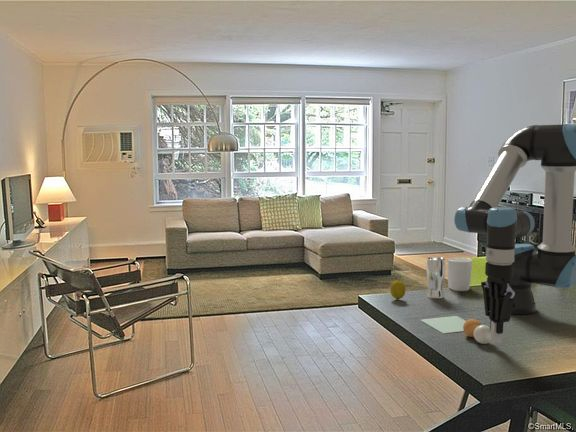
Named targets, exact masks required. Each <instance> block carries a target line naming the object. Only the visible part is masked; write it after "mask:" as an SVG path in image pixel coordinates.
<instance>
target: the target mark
mask: <svg viewBox="0 0 576 432" xmlns="http://www.w3.org/2000/svg"><path fill="white" fill-rule="evenodd" d="M419 321H421V322H422V323H424V324H426V325H427V326H429V327H431V328H433V329H434V330H436V331H438V332H439V333H441V334H444V335H445V334H451V333H452V334H453V333H461V332H464V330H463V325H464V323H465V322H466V321H467V320H465V319H463V318H462V317H460V316H457V315H452V316H444V317H443V316H442V317H433V318H423V319H419Z"/></svg>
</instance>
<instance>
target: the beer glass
mask: <svg viewBox="0 0 576 432" xmlns="http://www.w3.org/2000/svg"><path fill="white" fill-rule="evenodd" d="M445 277H446V258H445V257H442V256H441V257H439V256H430V257H427V259H426V278H427V286H428V287H427V293H426V298H429V299H434V300H436V299H437V300H438V299H439V300H441V299H443V298H444V293H443V285H444V281H445Z"/></svg>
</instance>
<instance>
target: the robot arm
mask: <svg viewBox="0 0 576 432" xmlns="http://www.w3.org/2000/svg"><path fill="white" fill-rule="evenodd" d="M497 156H498V157H497V160H496V161H495V163H494V164H493V166H492V168H491V170H490V171H489V173H488V174H487V176H486V178H485V179H484V181H483V183H482V185H481V186H480V188H479V189H478V192H477V193H476V195H475V196H474V197H473V199H472V201H471V203H470V204H469V206H464V207H463V206H462V207H460V208H459V207H458V209H457V210H456V211H455V214H454V217H453V219H454V225H455V228H456V229H457V230H458V231H461V232H464V233H465V232H466V233H474V234H481V235H482V234H483V235H484V234H485V235H486V252H485V260H486V262H485V265H484V267H485V268H484V269H485V270H484V273H485V274H484V275H486V277H487V278H486V281H481V283H480V286H481V289H482V294H483V295H482V296H483V302H484V303H483V304H484V305H483V306H484V313H485V316H486V317H488V318H489V322H490V324H489V327H490V330H491V337H490V342H489V343H490V344H492V345H502V341H503V333H504V324H505V323H508V322H510V320H511V315H530V314H534V313H535V312H536V311H537V309H536V307H537V304H536V301H535V297H534V294H533V293H534V292H533V291H532V290H533V289H532V284H534V285H535V284H536V285H540V286H546V287H552V288H556V289H571V288H573V287H574V286H575V285H576V247H575V246H574V245H573V244H572V234H573V233H572V231H573V230H572V228H573V210H574V191H575V190H574V189H575V172H576V124H571V123H570V124H568V123H564V124H563V123H562V124H535V125H534V124H533V125H528V126H526V127H523V128H521V129H519V130H517V131H516V132H515V133H513V134H512V135H511V136H509V138H507V139H506V140H505V141H504V143H502V145H501V147H500V149H499V150H498V153H497ZM529 161H540V167H541V168H542V169H543V170H544V171H545V178H544V179H545V180H544V200H543V202H544V205H543V225H542V227H543V228H542V229H543V230H542V242H541V243H540V244H539V245H537V249H535V246H534V244H530V243H516V239H518V238H524V237H526V236H528V235H529V234H531V233H532V232H533V230H534V228H535V225H536V224H535V218H534V216H533V215H532V214H531V213H530V212H529V211H526V210H516V209H515V207H514V208H513V207H508V206H507V207H506V206H505V207H504V206H503V207H502V206H499V205H500V204H501V201H503V198H504V196H505V195H506V193H507V191H508V190H509V188H510V186H511V185H512V182H513V181H514V180H515V177H516V175H517V174H518V172H519V170H520V169H521V168H523V167H524V166H526V165H527V163H528V162H529Z"/></svg>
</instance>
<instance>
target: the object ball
mask: <svg viewBox="0 0 576 432" xmlns="http://www.w3.org/2000/svg"><path fill="white" fill-rule="evenodd" d="M465 321H466V322H465V323H464V325H463V330H464V331H463V332H464V334H465V335H466V336H468V337H470V338H474V330H475V328H476V327H478V326H480V325H482V324H481V322H480V321H479V320H478V319H475V318H470V319H469V318H468V319H466V320H465Z"/></svg>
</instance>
